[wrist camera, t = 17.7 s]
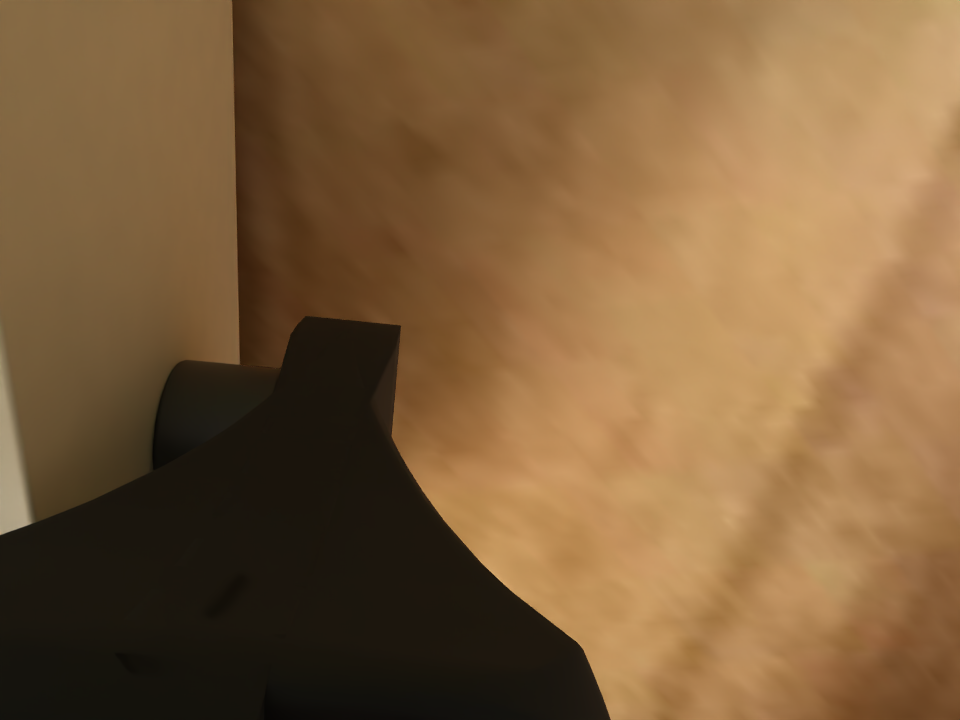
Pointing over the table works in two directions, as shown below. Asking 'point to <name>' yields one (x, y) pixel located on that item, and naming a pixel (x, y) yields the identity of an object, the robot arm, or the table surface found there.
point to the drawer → (115, 246)
